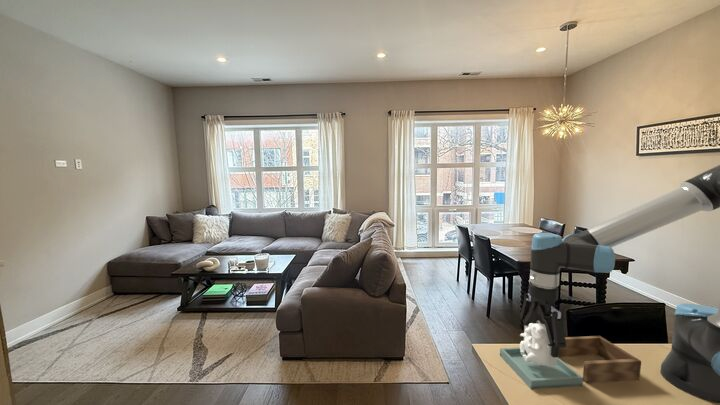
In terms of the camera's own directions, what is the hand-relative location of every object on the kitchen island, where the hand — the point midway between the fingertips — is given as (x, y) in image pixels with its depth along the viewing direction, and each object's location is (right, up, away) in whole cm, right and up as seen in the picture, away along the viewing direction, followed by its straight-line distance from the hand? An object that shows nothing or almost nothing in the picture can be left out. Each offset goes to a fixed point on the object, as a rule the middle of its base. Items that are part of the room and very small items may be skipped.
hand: (539, 354), depth 90 cm
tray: (0, -5, +1) cm, 5 cm away
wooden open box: (+18, -5, +2) cm, 19 cm away
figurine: (0, -2, 0) cm, 2 cm away
